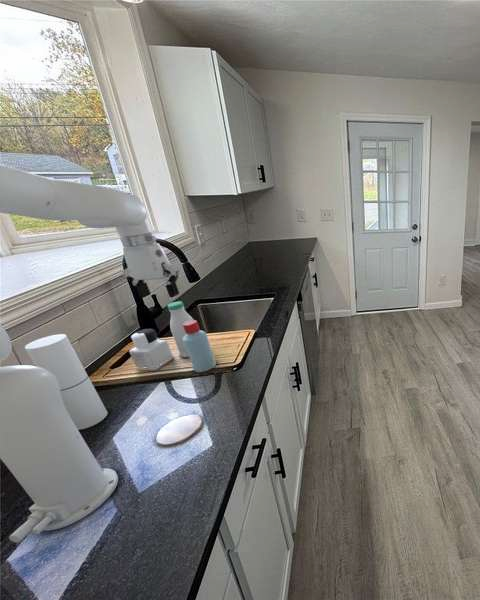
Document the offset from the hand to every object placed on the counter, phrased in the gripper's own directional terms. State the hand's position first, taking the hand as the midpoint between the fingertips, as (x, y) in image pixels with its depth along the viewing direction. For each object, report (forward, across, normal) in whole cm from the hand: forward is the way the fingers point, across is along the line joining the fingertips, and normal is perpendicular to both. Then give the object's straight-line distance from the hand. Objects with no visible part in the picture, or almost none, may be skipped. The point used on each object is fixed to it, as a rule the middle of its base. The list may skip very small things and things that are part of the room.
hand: (160, 296), depth 96 cm
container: (+28, +16, -4) cm, 32 cm away
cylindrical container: (+27, +12, +23) cm, 38 cm away
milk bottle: (+28, +7, -11) cm, 31 cm away
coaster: (+27, -18, +26) cm, 42 cm away
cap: (+14, -5, -2) cm, 14 cm away
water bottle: (+27, -4, -2) cm, 28 cm away
